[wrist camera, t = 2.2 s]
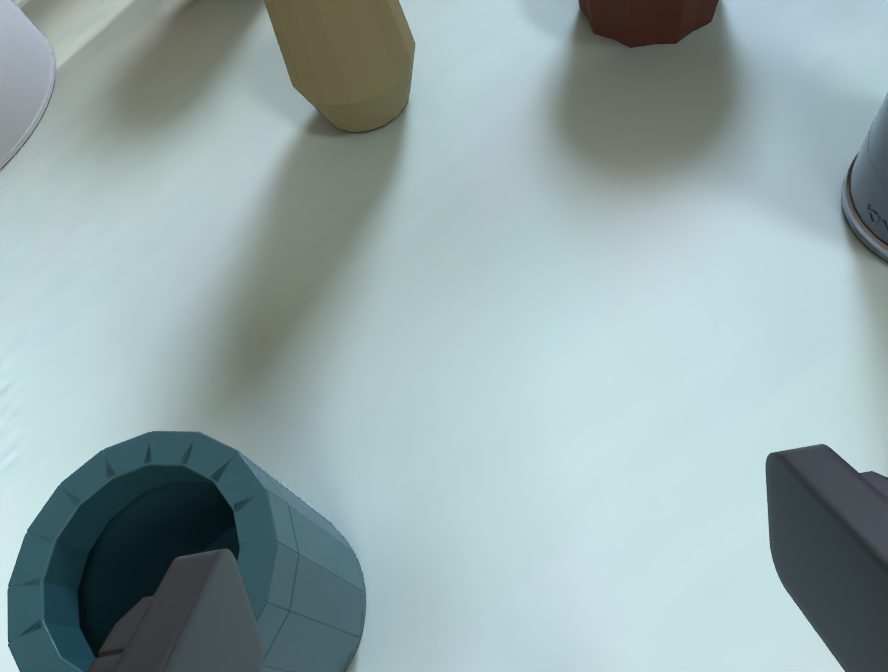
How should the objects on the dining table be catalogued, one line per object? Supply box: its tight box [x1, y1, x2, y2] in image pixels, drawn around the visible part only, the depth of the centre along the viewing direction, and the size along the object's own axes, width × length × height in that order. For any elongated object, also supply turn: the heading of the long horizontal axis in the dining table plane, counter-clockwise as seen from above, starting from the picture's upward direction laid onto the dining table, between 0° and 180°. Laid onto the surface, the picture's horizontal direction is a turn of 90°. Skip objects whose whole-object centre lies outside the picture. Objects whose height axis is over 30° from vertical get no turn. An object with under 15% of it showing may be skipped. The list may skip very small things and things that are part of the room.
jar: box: [8, 431, 366, 672], centre depth 29 cm, size 9×9×11 cm
